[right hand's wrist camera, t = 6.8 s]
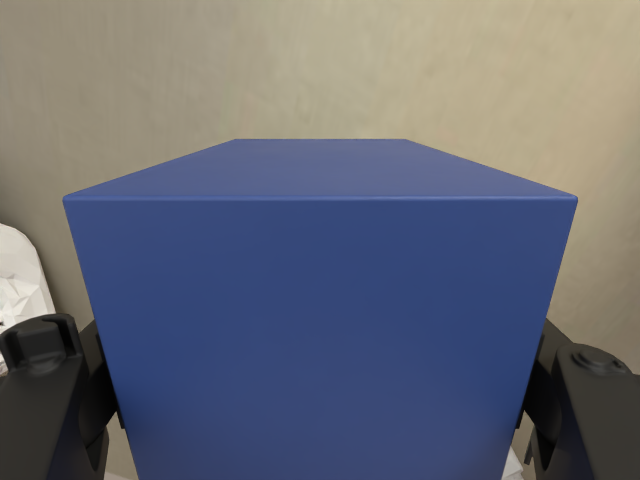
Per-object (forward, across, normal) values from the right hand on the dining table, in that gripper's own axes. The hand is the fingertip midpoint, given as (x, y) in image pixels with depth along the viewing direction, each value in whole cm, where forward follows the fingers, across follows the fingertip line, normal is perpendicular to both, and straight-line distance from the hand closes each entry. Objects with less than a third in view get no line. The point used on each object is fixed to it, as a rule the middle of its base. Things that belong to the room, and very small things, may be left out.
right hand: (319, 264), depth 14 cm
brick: (+4, 0, 0) cm, 4 cm away
